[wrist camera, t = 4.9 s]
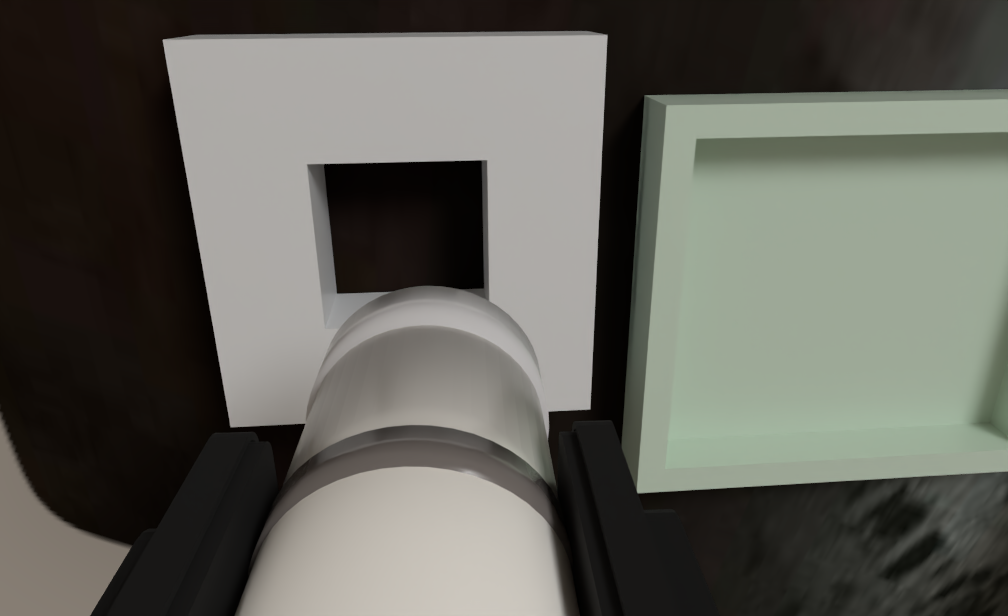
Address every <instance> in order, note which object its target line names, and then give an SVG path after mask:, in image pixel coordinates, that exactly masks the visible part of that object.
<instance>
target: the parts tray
mask: <svg viewBox="0 0 1008 616" xmlns="http://www.w3.org/2000/svg"><path fill="white" fill-rule="evenodd" d="M622 450H623V453H624V456H625V458H626V461H627V464H628V467H629V470H630V473H631V476H632V478H633V481H634V484H635V487H636V490H637V493H649V492H666V491H683V490H700V489H717V488H734V487H751V486H768V485H785V484H802V483H818V482H835V481H852V480H869V479H886V478H903V477H920V476H937V475H954V474H971V473H988V472H1004V471H1008V89H997V90H938V91H879V92H820V93H761V94H702V95H645V97H644V112H643V128H642V143H641V158H640V173H639V188H638V204H637V219H636V234H635V249H634V264H633V280H632V295H631V310H630V325H629V340H628V356H627V371H626V386H625V401H624V416H623V432H622Z"/></svg>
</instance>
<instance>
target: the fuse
mask: <svg viewBox="0 0 1008 616" xmlns="http://www.w3.org/2000/svg"><path fill="white" fill-rule="evenodd" d="M548 432H549V416H548V409H547V404H546V399H545V394H544V389H543V384H542V379H541V374H540V369H539V364H538V359H537V357H536V354H535V351H534V349H533V346H532V344H531V343H530V341H529V339H528V337H527V335H526V334H525V333H524V331H523V330H522V329H521V327H520V326H519V325H518V324H517V323H516V322H515V321H514V320H513V319H512V318H511V316H510V315H508V314H507V313H506V312H505V311H503V310H502V309H501V308H499V307H498V306H497V305H495V304H493V303H491V302H490V301H488V300H486V299H485V298H482V297H480V296H477V295H475V294H473V293H470V292H467V291H463V290H460V289H455V288H449V287H443V286H419V287H410V288H405V289H401V290H396V291H393V292H391V293H388V294H385V295H382V296H380V297H378V298H376V299H374V300H372V301H370V302H369V303H367V304H366V305H364V306H363V307H361V308H360V309H358V310H357V311H356V312H355V313H354V314H352V315H351V316H350V317H349V318H348V319H347V320H346V321H345V322H344V324H343V325H342V326H341V327H340V328H339V330H338V331H337V333H336V334H335V336H334V338H333V339H332V341H331V343H330V345H329V348H328V350H327V352H326V355H325V357H324V360H323V362H322V365H321V368H320V370H319V373H318V375H317V378H316V381H315V383H314V386H313V388H312V391H311V394H310V397H309V401H308V405H307V413H306V424H305V427H304V430H303V432H302V435H301V438H300V441H299V443H298V446H297V449H296V451H295V454H294V457H293V459H292V462H291V465H290V468H289V470H288V473H287V476H286V478H285V481H284V484H283V486H282V488H281V490H280V491H279V493H278V494H277V496H276V497H275V499H274V502H273V504H272V506H271V508H270V511H269V513H268V515H267V518H266V521H265V523H264V526H263V529H262V531H261V534H260V537H259V539H258V542H257V544H256V547H255V550H254V552H253V555H252V558H251V562H250V566H249V570H248V576H249V578H248V581H247V583H246V586H245V589H244V592H243V594H242V597H241V600H240V602H239V605H238V608H237V610H236V613H235V616H580V612H579V607H578V601H577V596H576V591H575V585H574V580H573V574H572V569H573V557H572V551H571V546H570V541H569V536H568V531H567V525H566V520H565V516H564V513H563V510H562V508H561V505H560V503H559V499H558V494H557V488H556V483H555V477H554V472H553V467H552V461H551V456H550V450H549V445H548Z"/></svg>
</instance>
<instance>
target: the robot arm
mask: <svg viewBox="0 0 1008 616" xmlns="http://www.w3.org/2000/svg"><path fill="white" fill-rule="evenodd" d="M278 493H279V490H278V484H277V477H276V470H275V464H274V457H273V451H272V446H271V444H270V443H269V442H268V441H267V442H259V439H258V437H257V435H256V433H254V432H233V433H214V434H212V435H211V436H210V438H209V439H208V441H207V443H206V445H205V446H204V448H203V450H202V451H201V453H200V455H199V457H198V458H197V460H196V462H195V463H194V465H193V467H192V469H191V470H190V472H189V474H188V476H187V477H186V479H185V481H184V482H183V484H182V486H181V488H180V489H179V491H178V493H177V495H176V496H175V498H174V500H173V501H172V503H171V505H170V507H169V508H168V510H167V512H166V513H165V515H164V517H163V519H162V520H161V522H160V524H159V526H158V527H157V529H148V530H146V531H144V532H142V533H141V535H140V536H139V537H138V538H137V540H136V541H135V543H134V544H133V546H132V547H131V549H130V551H129V553H128V554H127V556H126V557H125V559H124V561H123V563H122V564H121V566H120V567H119V569H118V571H117V572H116V574H115V576H114V577H113V579H112V581H111V582H110V584H109V585H108V587H107V589H106V591H105V592H104V594H103V595H102V597H101V599H100V600H99V602H98V604H97V605H96V607H95V609H94V610H93V612H92V614H91V615H90V616H235V613H236V610H237V608H238V605H239V602H240V600H241V597H242V594H243V592H244V589H245V586H246V583H247V581H248V578H249V576H248V570H249V566H250V562H251V558H252V555H253V552H254V550H255V547H256V544H257V542H258V539H259V537H260V534H261V531H262V529H263V526H264V523H265V521H266V518H267V515H268V513H269V511H270V508H271V506H272V504H273V502H274V499H275V497H276V496H277V494H278ZM557 494H558V499H559V503H560V505H561V508H562V510H563V513H564V516H565V520H566V525H567V531H568V536H569V541H570V546H571V551H572V557H573V569H572V574H573V580H574V585H575V591H576V596H577V601H578V607H579V612H580V616H720V615H719V612H718V610H717V607H716V605H715V603H714V600H713V598H712V595H711V593H710V591H709V588H708V586H707V583H706V581H705V578H704V576H703V574H702V571H701V569H700V566H699V564H698V562H697V559H696V557H695V554H694V552H693V549H692V547H691V545H690V542H689V540H688V537H687V535H686V533H685V530H684V528H683V525H682V523H681V520H680V518H679V517H678V515H677V513H676V512H675V511H674V510H673V509H660V510H643V507H642V504H641V501H640V498H639V496H638V493H637V490H636V487H635V484H634V481H633V478H632V476H631V473H630V470H629V467H628V464H627V461H626V458H625V456H624V453H623V450H622V447H621V444H620V441H619V438H618V436H617V433H616V430H615V427H614V424H613V422H612V421H611V420H604V421H574V423H573V427H572V431H570V432H560V433H559V449H558V486H557Z"/></svg>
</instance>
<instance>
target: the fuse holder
mask: <svg viewBox="0 0 1008 616" xmlns="http://www.w3.org/2000/svg"><path fill="white" fill-rule="evenodd" d="M163 44H164V50H165V56H166V61H167V67H168V73H169V78H170V84H171V90H172V96H173V101H174V107H175V113H176V118H177V124H178V130H179V135H180V141H181V147H182V153H183V158H184V164H185V170H186V175H187V181H188V187H189V192H190V198H191V204H192V210H193V215H194V221H195V227H196V232H197V238H198V244H199V249H200V255H201V261H202V267H203V272H204V278H205V284H206V289H207V295H208V301H209V307H210V312H211V318H212V324H213V329H214V335H215V341H216V346H217V352H218V358H219V364H220V369H221V375H222V381H223V386H224V392H225V398H226V403H227V409H228V415H229V421H230V426H231V427H246V426H266V425H286V424H306V413H307V405H308V401H309V397H310V394H311V391H312V388H313V386H314V383H315V381H316V378H317V375H318V373H319V370H320V368H321V365H322V362H323V360H324V357H325V355H326V352H327V350H328V348H329V345H330V343H331V341H332V339H333V338H334V336H335V334H336V333H337V331H338V330H339V328H340V327H341V326H342V325H343V324H344V322H345V321H346V320H347V319H348V318H349V317H350V316H351V315H352V314H354V313H355V312H356V311H357V310H358V309H360V308H361V307H363V306H364V305H366V304H367V303H369V302H370V301H372V300H374V299H376V298H378V297H380V296H382V295H385V294H388V293H391V292H378V293H351V294H337V291H336V281H335V271H334V261H333V251H332V241H331V232H330V222H329V212H328V202H327V192H326V182H325V173H324V164H341V163H384V162H426V161H469V160H482V202H483V258H484V289H460V290H463V291H467V292H470V293H473V294H475V295H477V296H480V297H482V298H485V299H486V300H488V301H490V302H491V303H493V304H495V305H497V306H498V307H499V308H501V309H502V310H503V311H505V312H506V313H507V314H508V315H510V316H511V318H512V319H513V320H514V321H515V322H516V323H517V324H518V325H519V326H520V327H521V329H522V330H523V331H524V333H525V334H526V335H527V337H528V339H529V341H530V343H531V344H532V346H533V349H534V351H535V354H536V357H537V359H538V364H539V369H540V374H541V379H542V384H543V389H544V394H545V399H546V404H547V409H548V411H566V410H586V409H590V404H591V382H592V360H593V338H594V316H595V294H596V272H597V250H598V228H599V206H600V184H601V162H602V140H603V117H604V95H605V73H606V51H607V35H604V34H599V33H594V32H589V31H546V32H447V33H347V34H247V35H193V36H186V37H179V38H172V39H165V40H163Z"/></svg>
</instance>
